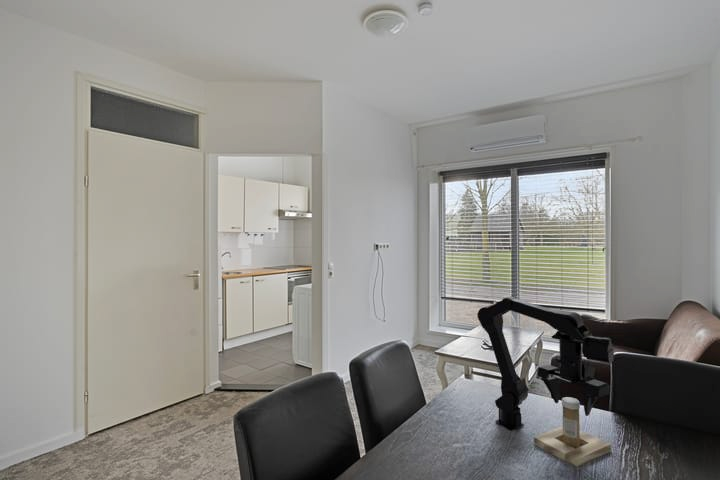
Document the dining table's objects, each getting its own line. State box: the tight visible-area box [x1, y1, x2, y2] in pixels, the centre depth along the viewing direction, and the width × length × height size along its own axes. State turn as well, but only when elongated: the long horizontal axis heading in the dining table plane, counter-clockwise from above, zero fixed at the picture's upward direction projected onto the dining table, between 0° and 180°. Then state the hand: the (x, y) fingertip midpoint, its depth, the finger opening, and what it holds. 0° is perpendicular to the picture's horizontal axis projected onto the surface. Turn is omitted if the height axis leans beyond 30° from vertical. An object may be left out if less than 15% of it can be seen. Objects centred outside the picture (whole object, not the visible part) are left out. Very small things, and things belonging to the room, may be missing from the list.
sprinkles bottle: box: [561, 396, 581, 449], centre depth 108 cm, size 5×5×14 cm
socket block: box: [533, 425, 612, 468], centre depth 108 cm, size 13×16×2 cm
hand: (571, 408), depth 108 cm, fingers open, 9 cm apart
